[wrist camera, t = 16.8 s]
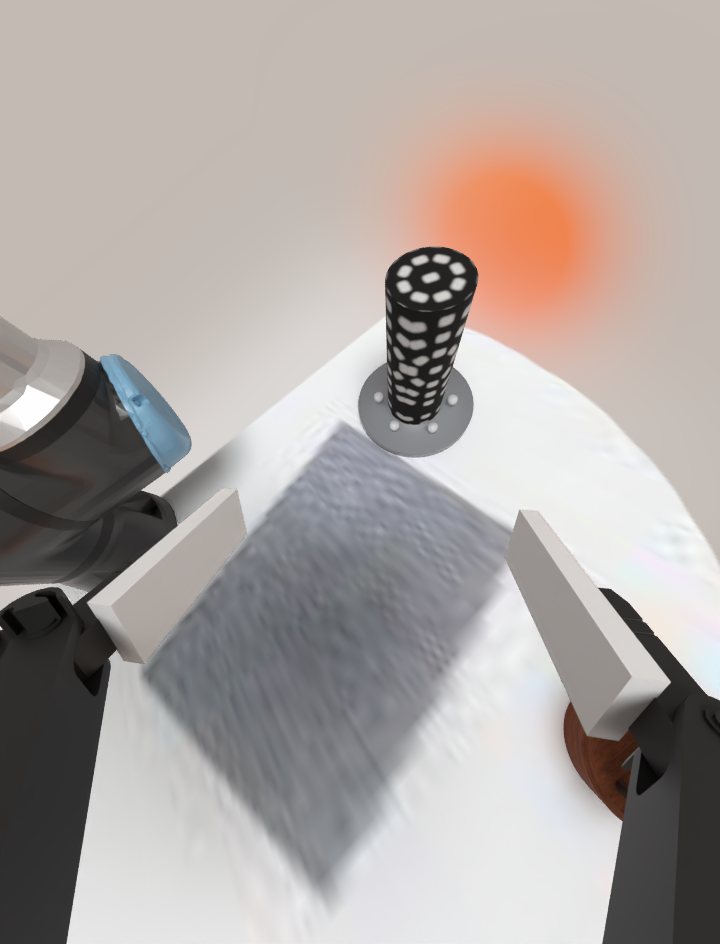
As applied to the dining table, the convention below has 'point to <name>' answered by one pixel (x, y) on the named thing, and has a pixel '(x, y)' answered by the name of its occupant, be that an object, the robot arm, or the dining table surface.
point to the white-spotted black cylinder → (425, 327)
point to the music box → (600, 762)
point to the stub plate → (415, 437)
